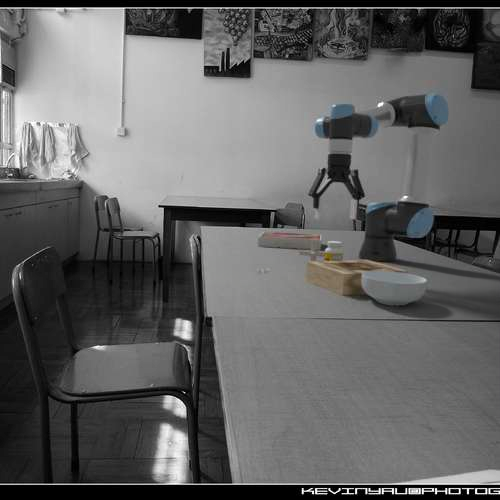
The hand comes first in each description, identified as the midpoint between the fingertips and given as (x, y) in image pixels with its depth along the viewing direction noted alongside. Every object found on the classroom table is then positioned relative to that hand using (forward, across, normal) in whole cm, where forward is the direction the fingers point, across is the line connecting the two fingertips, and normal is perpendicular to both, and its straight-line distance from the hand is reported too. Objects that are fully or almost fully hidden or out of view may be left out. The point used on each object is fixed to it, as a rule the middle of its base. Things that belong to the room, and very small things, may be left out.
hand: (335, 219), depth 170 cm
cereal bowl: (+19, +5, +37) cm, 42 cm away
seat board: (+19, +3, +17) cm, 25 cm away
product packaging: (+19, -20, -68) cm, 73 cm away
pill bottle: (+19, 0, 0) cm, 19 cm away
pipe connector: (+19, 0, -13) cm, 23 cm away
